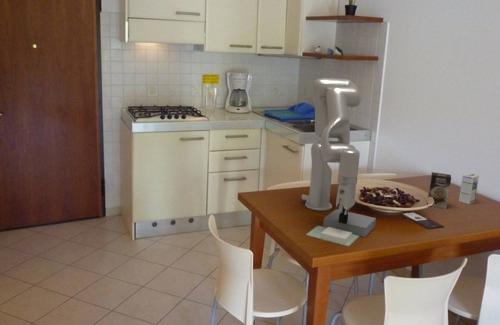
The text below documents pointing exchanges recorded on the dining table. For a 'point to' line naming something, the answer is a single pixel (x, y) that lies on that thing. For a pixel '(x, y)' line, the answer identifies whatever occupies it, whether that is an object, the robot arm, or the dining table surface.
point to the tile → (336, 235)
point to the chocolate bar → (422, 220)
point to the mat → (317, 234)
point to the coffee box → (439, 189)
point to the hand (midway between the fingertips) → (342, 222)
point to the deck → (351, 223)
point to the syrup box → (468, 188)
